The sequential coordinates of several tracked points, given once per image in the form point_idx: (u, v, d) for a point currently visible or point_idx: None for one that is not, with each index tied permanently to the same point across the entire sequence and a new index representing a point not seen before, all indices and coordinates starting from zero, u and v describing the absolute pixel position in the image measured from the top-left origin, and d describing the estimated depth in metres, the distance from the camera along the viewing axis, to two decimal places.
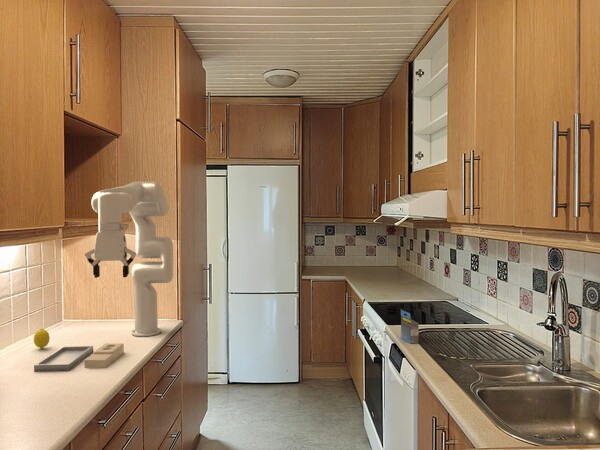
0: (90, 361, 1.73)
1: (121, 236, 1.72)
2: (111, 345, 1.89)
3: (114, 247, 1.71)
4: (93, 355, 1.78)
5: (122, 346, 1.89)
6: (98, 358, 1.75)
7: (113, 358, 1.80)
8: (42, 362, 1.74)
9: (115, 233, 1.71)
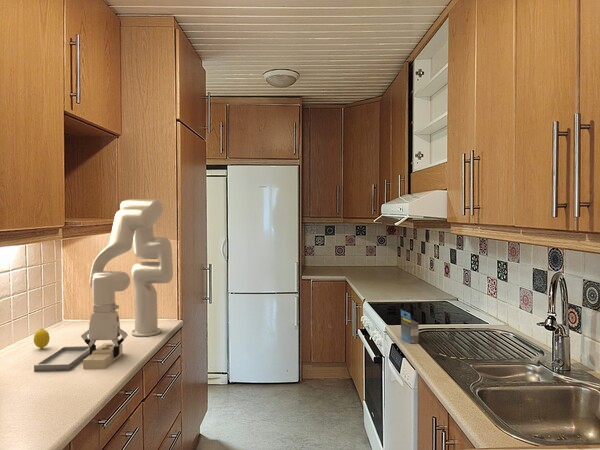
0: (89, 361, 1.72)
1: (114, 317, 1.80)
2: (110, 345, 1.88)
3: (107, 327, 1.79)
4: (92, 355, 1.77)
5: (121, 346, 1.88)
6: (97, 358, 1.73)
7: (112, 358, 1.79)
8: (42, 362, 1.74)
9: (108, 314, 1.79)
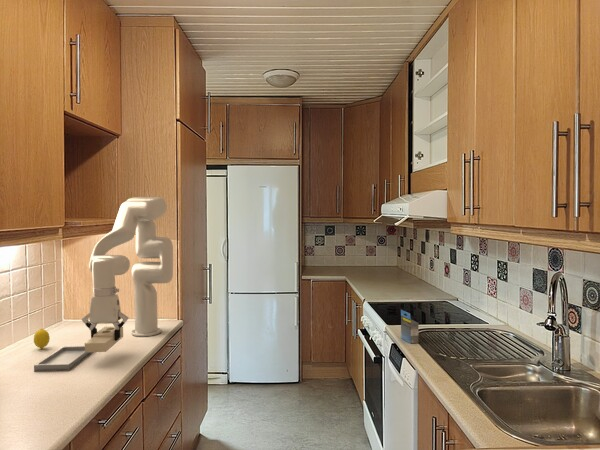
0: (90, 344, 1.73)
1: (115, 300, 1.80)
2: (110, 328, 1.88)
3: (108, 311, 1.79)
4: (93, 338, 1.78)
5: (121, 329, 1.89)
6: (98, 341, 1.74)
7: (113, 341, 1.80)
8: (42, 362, 1.74)
9: (109, 298, 1.79)
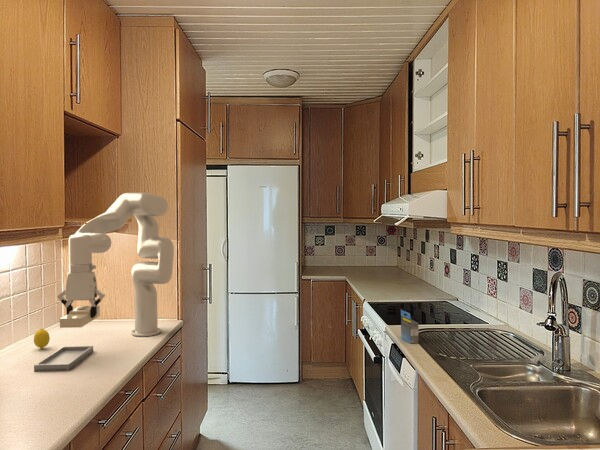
0: (66, 320, 1.71)
1: (91, 277, 1.79)
2: (87, 307, 1.87)
3: (84, 287, 1.78)
4: (69, 315, 1.76)
5: (98, 307, 1.87)
6: (74, 317, 1.73)
7: (89, 318, 1.79)
8: (42, 362, 1.74)
9: (85, 274, 1.78)
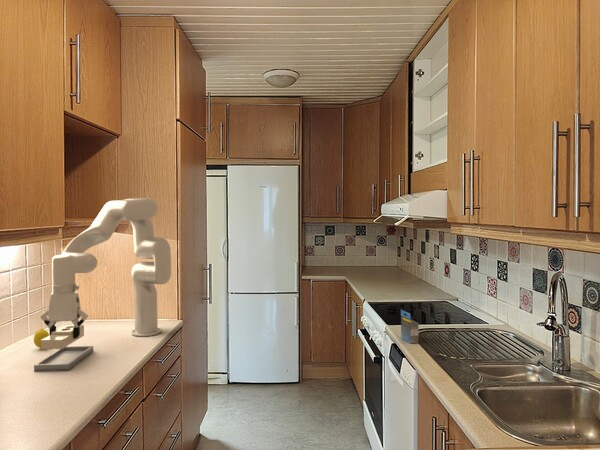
0: (47, 341, 1.70)
1: (74, 297, 1.79)
2: (71, 326, 1.86)
3: (67, 308, 1.78)
4: (51, 336, 1.76)
5: (82, 327, 1.87)
6: (55, 338, 1.72)
7: (71, 339, 1.78)
8: (42, 362, 1.74)
9: (68, 295, 1.78)
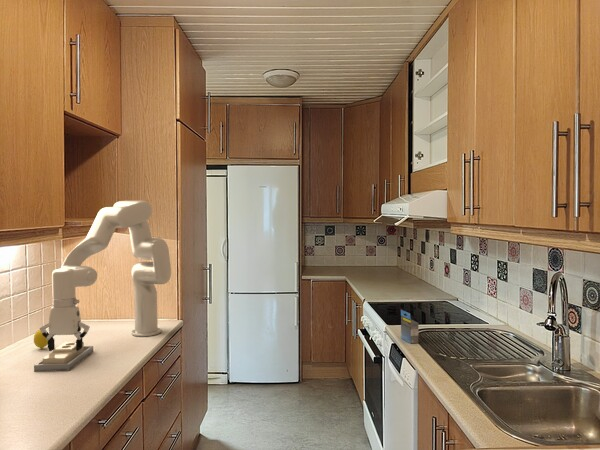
0: (49, 359, 1.71)
1: (74, 311, 1.79)
2: (71, 343, 1.87)
3: (67, 322, 1.78)
4: (52, 354, 1.76)
5: None
6: (57, 356, 1.73)
7: (73, 356, 1.79)
8: (42, 362, 1.74)
9: (68, 309, 1.78)
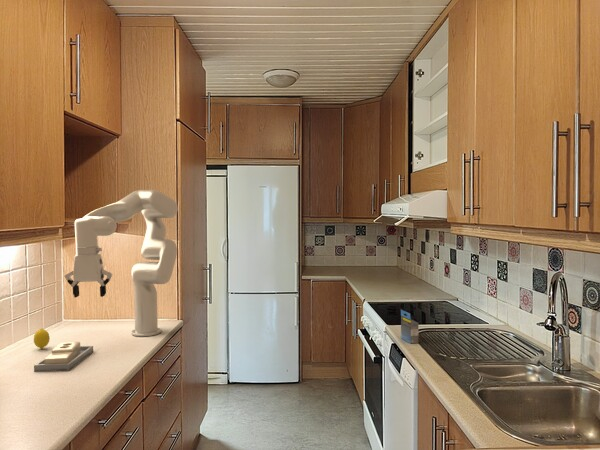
0: (51, 360, 1.71)
1: (97, 259, 1.85)
2: (67, 344, 1.86)
3: (91, 269, 1.85)
4: (52, 354, 1.75)
5: (79, 344, 1.88)
6: (59, 356, 1.73)
7: (73, 356, 1.79)
8: (42, 362, 1.74)
9: (91, 256, 1.84)
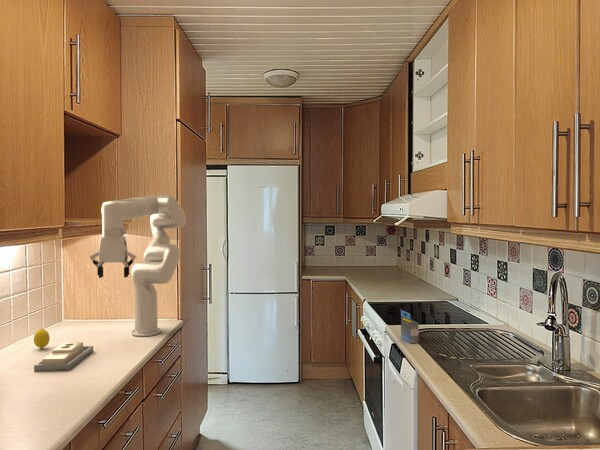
0: (48, 360, 1.70)
1: (122, 240, 1.93)
2: (70, 344, 1.86)
3: (116, 250, 1.92)
4: (51, 354, 1.75)
5: (81, 345, 1.87)
6: (56, 357, 1.72)
7: (72, 357, 1.78)
8: None
9: (117, 238, 1.92)
